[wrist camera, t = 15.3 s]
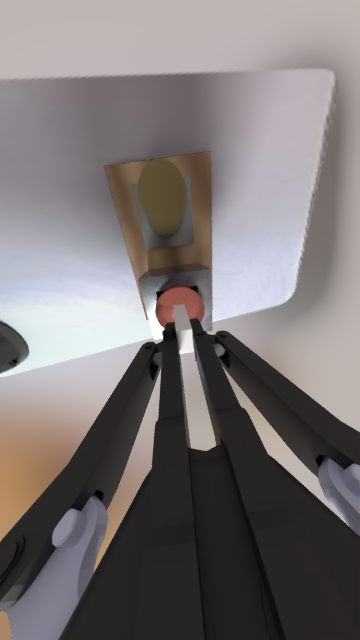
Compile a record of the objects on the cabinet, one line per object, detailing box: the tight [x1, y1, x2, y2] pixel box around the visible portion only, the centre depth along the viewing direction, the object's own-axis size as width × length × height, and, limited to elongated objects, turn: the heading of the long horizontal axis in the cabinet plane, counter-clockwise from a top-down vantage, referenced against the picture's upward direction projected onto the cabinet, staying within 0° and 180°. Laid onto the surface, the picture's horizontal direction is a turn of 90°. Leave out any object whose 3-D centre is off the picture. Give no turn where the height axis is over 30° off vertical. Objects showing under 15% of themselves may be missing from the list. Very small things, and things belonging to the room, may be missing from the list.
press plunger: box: [155, 286, 205, 329], centre depth 23 cm, size 7×7×9 cm
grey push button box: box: [138, 263, 212, 339], centre depth 24 cm, size 10×10×10 cm
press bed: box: [104, 151, 213, 320], centre depth 26 cm, size 16×26×3 cm, turn 7°
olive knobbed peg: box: [137, 159, 187, 238], centre depth 17 cm, size 6×6×11 cm
